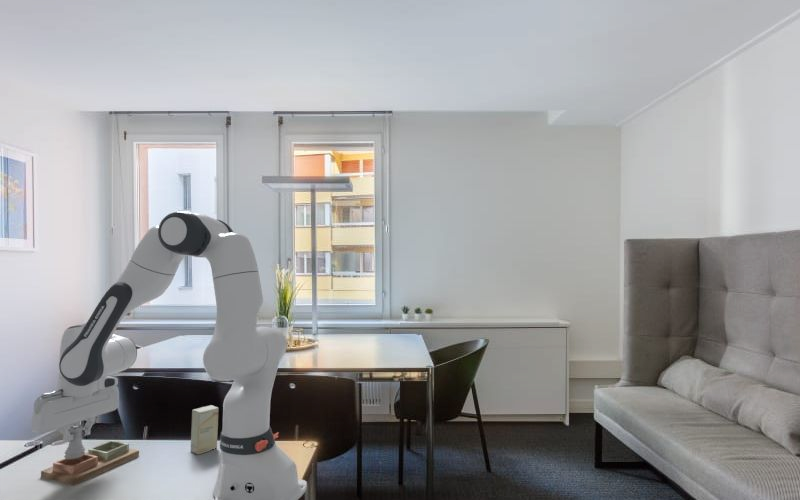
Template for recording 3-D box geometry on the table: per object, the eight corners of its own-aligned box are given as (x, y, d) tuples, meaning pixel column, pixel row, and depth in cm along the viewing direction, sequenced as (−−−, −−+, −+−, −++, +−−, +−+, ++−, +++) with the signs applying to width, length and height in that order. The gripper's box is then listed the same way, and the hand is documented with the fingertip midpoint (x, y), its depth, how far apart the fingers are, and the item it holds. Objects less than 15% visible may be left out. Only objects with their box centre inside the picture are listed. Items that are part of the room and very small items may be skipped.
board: (138, 455, 123) (139, 443, 123) (73, 485, 106) (73, 471, 106) (108, 449, 127) (109, 437, 127) (40, 477, 110) (41, 463, 110)
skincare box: (197, 455, 124) (199, 412, 125) (189, 451, 127) (191, 409, 127) (218, 448, 129) (219, 407, 130) (210, 444, 132) (211, 404, 132)
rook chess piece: (89, 453, 115) (91, 423, 115) (75, 460, 111) (76, 429, 111) (74, 452, 116) (76, 422, 116) (59, 459, 111) (61, 428, 111)
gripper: (43, 397, 103) (40, 456, 102) (123, 377, 122) (121, 426, 121) (26, 394, 105) (23, 452, 104) (107, 375, 124) (105, 423, 124)
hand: (76, 438), depth 113 cm, fingers closed on rook chess piece, 3 cm apart
